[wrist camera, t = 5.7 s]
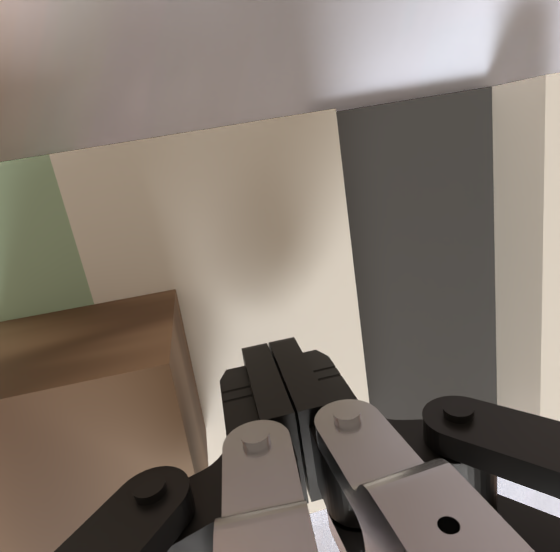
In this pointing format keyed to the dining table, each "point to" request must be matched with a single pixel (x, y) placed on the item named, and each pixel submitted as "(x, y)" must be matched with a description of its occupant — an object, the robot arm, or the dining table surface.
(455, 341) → the trap deck
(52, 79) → the dining table surface
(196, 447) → the walnut block
